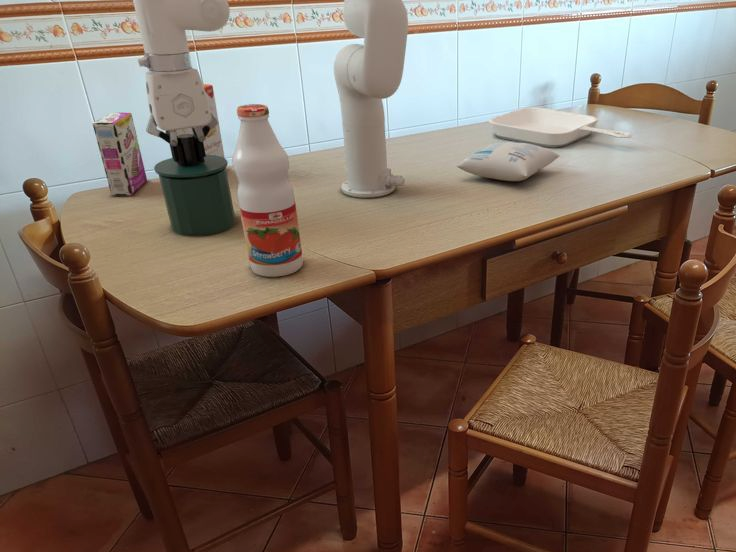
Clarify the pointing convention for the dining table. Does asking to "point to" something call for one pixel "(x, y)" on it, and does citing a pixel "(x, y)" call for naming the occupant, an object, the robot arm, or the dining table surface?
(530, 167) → the pouch
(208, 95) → the cracker box
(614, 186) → the dining table surface
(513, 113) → the pan
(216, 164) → the lid
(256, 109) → the fruit juice
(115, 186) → the candy bar box
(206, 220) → the pot
